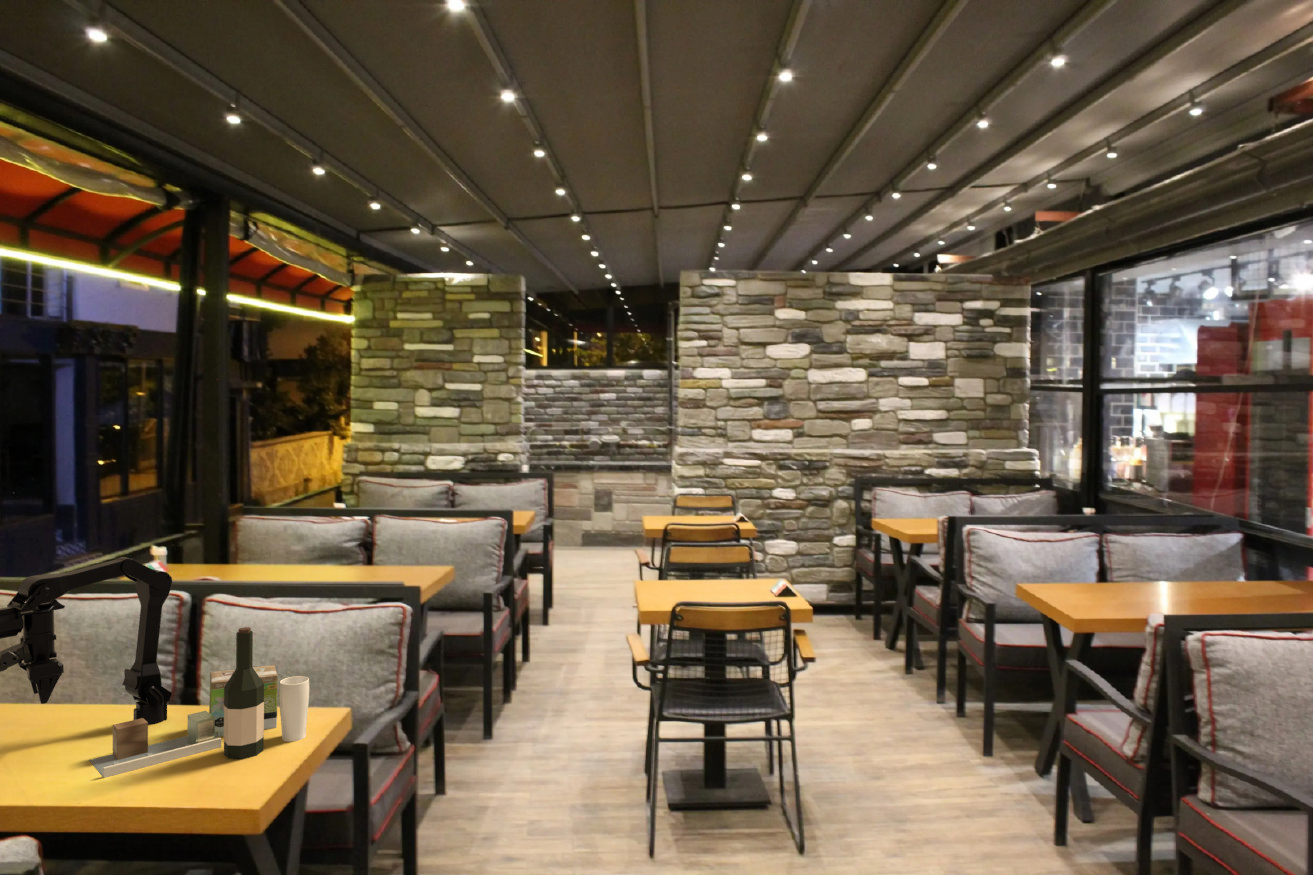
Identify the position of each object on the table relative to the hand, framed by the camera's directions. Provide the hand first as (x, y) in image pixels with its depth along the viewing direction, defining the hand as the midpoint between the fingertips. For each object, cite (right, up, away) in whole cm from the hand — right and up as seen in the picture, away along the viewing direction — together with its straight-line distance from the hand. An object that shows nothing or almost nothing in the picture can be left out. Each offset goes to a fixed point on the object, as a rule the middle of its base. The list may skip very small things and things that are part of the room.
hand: (40, 698), depth 187 cm
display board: (+26, -14, +1) cm, 30 cm away
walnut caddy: (+21, -13, 0) cm, 24 cm away
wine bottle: (+46, -14, +2) cm, 48 cm away
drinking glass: (+54, -14, +11) cm, 57 cm away
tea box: (+38, -14, +18) cm, 44 cm away
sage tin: (+34, -13, +6) cm, 37 cm away
